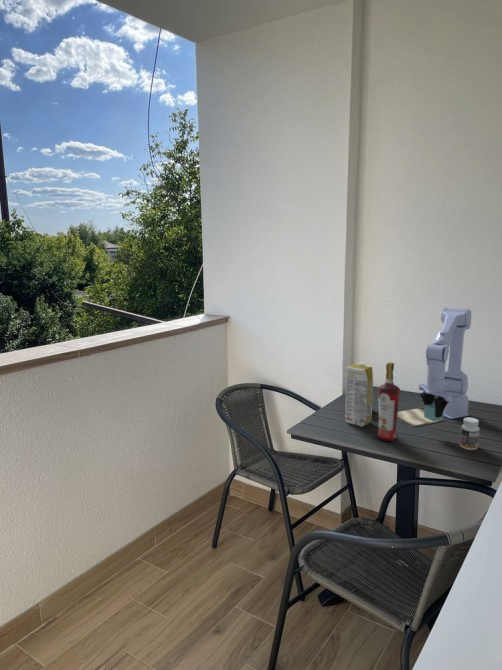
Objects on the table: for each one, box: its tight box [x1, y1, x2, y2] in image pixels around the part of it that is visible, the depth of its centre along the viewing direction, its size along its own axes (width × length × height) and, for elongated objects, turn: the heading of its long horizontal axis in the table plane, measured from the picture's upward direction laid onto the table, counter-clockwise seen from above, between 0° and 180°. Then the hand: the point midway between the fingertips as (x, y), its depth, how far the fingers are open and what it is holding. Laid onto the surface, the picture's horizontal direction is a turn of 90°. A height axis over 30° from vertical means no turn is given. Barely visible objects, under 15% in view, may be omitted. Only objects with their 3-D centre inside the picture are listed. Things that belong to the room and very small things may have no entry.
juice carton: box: [344, 362, 374, 428], centre depth 184 cm, size 9×8×24 cm
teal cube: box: [423, 403, 444, 421], centre depth 170 cm, size 4×4×4 cm
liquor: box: [376, 361, 401, 442], centre depth 168 cm, size 7×7×28 cm
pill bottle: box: [459, 416, 481, 451], centre depth 161 cm, size 6×6×10 cm
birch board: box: [397, 408, 444, 427], centre depth 190 cm, size 14×14×1 cm
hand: (433, 414), depth 170 cm, fingers closed on teal cube, 4 cm apart
